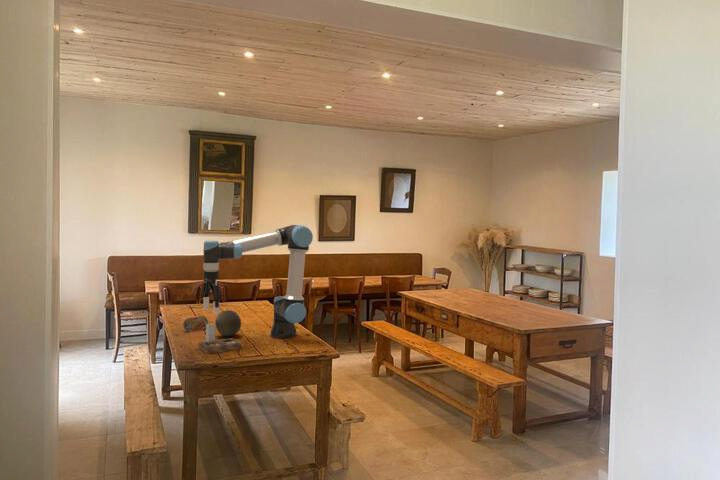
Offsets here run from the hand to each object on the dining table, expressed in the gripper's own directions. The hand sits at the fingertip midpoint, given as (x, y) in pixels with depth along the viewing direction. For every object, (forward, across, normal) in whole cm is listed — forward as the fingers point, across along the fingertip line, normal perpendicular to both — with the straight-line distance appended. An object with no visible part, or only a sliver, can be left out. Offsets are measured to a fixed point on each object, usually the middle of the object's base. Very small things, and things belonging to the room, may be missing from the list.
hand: (211, 311), depth 269 cm
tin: (+20, -46, +8) cm, 50 cm away
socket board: (+20, +2, +4) cm, 20 cm away
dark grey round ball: (+20, -21, +18) cm, 34 cm away
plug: (+20, 0, 0) cm, 20 cm away
